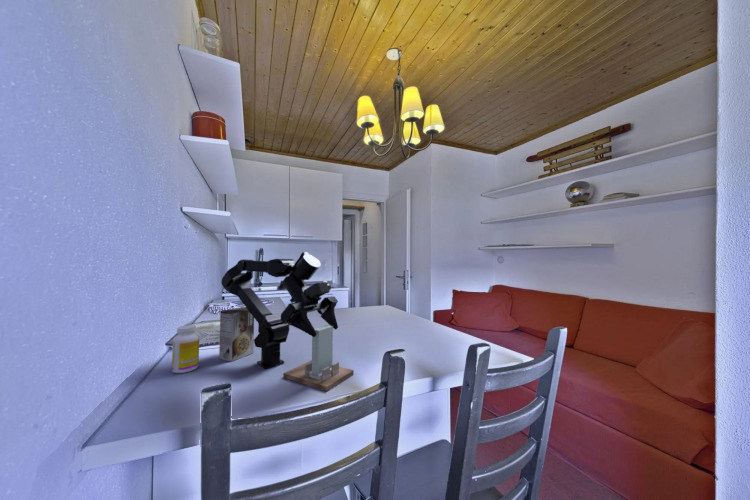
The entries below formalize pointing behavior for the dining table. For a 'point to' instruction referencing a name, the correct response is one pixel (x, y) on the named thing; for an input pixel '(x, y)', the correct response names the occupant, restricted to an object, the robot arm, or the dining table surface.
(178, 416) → the dining table surface
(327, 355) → the pale green pillar
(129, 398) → the dining table surface
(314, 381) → the hinge base
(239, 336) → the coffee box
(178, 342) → the supplement bottle
